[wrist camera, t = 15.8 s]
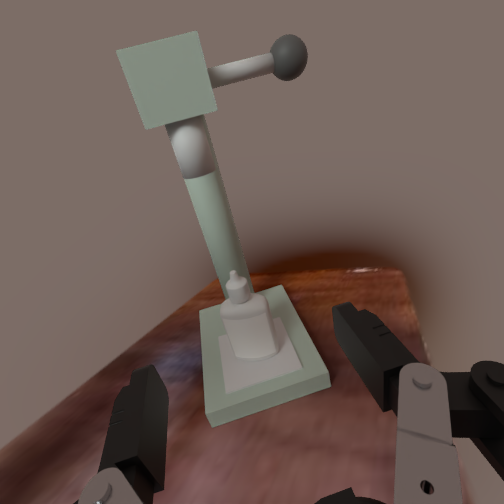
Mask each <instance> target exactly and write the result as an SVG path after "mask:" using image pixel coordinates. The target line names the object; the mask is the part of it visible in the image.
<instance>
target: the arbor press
mask: <svg viewBox="0 0 504 504" xmlns="http://www.w3.org/2000/svg"><path fill="white" fill-rule="evenodd" d="M116 53H117V56H118V58H119V61H120V63H121V66H122V68H123V71H124V74H125V77H126V79H127V82H128V85H129V87H130V90H131V92H132V95H133V98H134V100H135V103H136V105H137V108H138V111H139V113H140V116H141V119H142V121H143V124H144V126H145V129H150V128H154V127H157V126H161V125H165V127H166V130H167V133H168V136H169V138H170V141H171V144H172V147H173V150H174V153H175V156H176V158H177V161H178V164H179V167H180V170H181V173H182V176H183V178H184V180H185V183H186V186H187V189H188V192H189V194H190V197H191V200H192V203H193V206H194V209H195V212H196V215H197V217H198V221H199V223H200V226H201V229H202V232H203V234H204V238H205V241H206V244H207V247H208V249H209V252H210V255H211V258H212V261H213V264H214V267H215V269H216V273H217V275H218V278H219V281H220V284H221V287H222V290H223V293H224V296H225V298H226V300H227V299H228V298H229V296H228V293H227V290H226V287H225V286H226V283H227V282H228V281H229V280H230V272H231V271H233V270H235V271H236V272H237V274H238V276H240V277H244V278H246V279H247V282H248V285H249V289H250V292H251V293H254V290H253V286H252V283H251V279H250V276H249V272H248V269H247V265H246V262H245V258H244V255H243V251H242V248H241V244H240V240H239V237H238V233H237V230H236V226H235V223H234V219H233V216H232V212H231V209H230V205H229V202H228V198H227V195H226V191H225V187H224V184H223V180H222V177H221V174H220V170H219V166H218V163H217V159H216V156H215V152H214V149H213V145H212V142H211V138H210V135H209V131H208V128H207V124H206V120H205V117H204V114H206V113H210V112H213V111H217V110H218V109H217V105H216V102H215V98H214V94H213V90H212V89H213V88H217V87H220V86H224V85H228V84H231V83H235V82H239V81H243V80H247V79H251V78H255V77H258V76H262V75H266V74H270V73H273V74H274V75H275V76H276V77H277V78H279V79H281V80H284V81H290V80H293V79H295V78H297V77H298V76H299V75H301V73H302V72H303V71H304V69H305V67H306V64H307V58H308V56H307V55H308V54H307V49H306V46H305V44H304V43H303V41H302V40H301V39H300V38H298V37H297V36H295V35H284V36H282V37H280V38H279V39H277V40H276V41H275V43H274V44H273V46H272V47H271V50H270V53H267V54H263V55H259V56H255V57H252V58H247V59H244V60H240V61H236V62H232V63H228V64H224V65H220V66H216V67H212V68H208V69H207V67H206V63H205V59H204V56H203V52H202V48H201V44H200V40H199V37H198V32H197V31H194V32H190V33H185V34H182V35H177V36H173V37H169V38H165V39H161V40H157V41H153V42H149V43H145V44H141V45H137V46H133V47H129V48H125V49H121V50H117V51H116ZM255 294H259V295H262V296H264V297H266V298H267V300H268V303H269V307H270V310H271V314H272V318H273V322H274V325H275V329H276V333H277V337H278V341H279V351H278V353H277V354H276V355H275V356H273V357H270V358H268V359H264V360H260V361H243V360H239V359H237V358H236V357H235V355H234V353H233V350H232V347H231V345H230V342H229V339H228V336H227V334H226V331H225V328H224V326H223V323H222V320H221V316H220V308H221V305H222V304H219V305H216V306H213V307H210V308H206V309H203V310H200V311H199V314H200V331H201V347H202V364H203V380H204V397H205V414H206V416H207V418H208V420H209V422H210V424H211V426H212V428H213V427H216V426H219V425H222V424H225V423H228V422H230V421H233V420H236V419H239V418H242V417H245V416H248V415H251V414H254V413H256V412H259V411H262V410H265V409H268V408H271V407H274V406H277V405H280V404H282V403H285V402H288V401H291V400H294V399H297V398H300V397H303V396H305V395H308V394H311V393H314V392H317V391H320V390H323V389H326V388H329V387H331V383H330V377H329V372H328V370H327V368H326V366H325V364H324V362H323V361H322V359H321V357H320V355H319V353H318V351H317V349H316V347H315V346H314V344H313V342H312V340H311V338H310V336H309V334H308V333H307V331H306V329H305V327H304V325H303V323H302V321H301V320H300V318H299V316H298V314H297V312H296V310H295V308H294V307H293V305H292V303H291V301H290V299H289V297H288V295H287V294H286V292H285V290H284V288H283V286H282V285H279V286H276V287H273V288H270V289H266V290H263V291H260V292H257V293H255Z"/></svg>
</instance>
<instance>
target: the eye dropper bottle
mask: <svg viewBox="0 0 504 504" xmlns="http://www.w3.org/2000/svg"><path fill="white" fill-rule="evenodd" d="M225 287H226V290H227V293H228V296H229V298H228V299H227V300H225V301H224V302H223V303H222V305H221V308H220V316H221V320H222V323H223V326H224V328H225V331H226V334H227V336H228V339H229V342H230V345H231V347H232V350H233V353H234V355H235V357H236V358H237V359H239V360H243V361H260V360H264V359H268V358H270V357H273V356H275V355H276V354H277V353H278V351H279V341H278V337H277V333H276V329H275V325H274V322H273V318H272V314H271V310H270V307H269V303H268V300H267V298H266V297H264V296H262V295H259V294H255V293H251V292H250V289H249V285H248V282H247V279H246V278H244V277H240V276H238V274H237V272H236V271H235V270H233V271H231V272H230V280H229V281H228V282H227V283H226V286H225Z"/></svg>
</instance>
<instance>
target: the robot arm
mask: <svg viewBox="0 0 504 504" xmlns="http://www.w3.org/2000/svg"><path fill="white" fill-rule="evenodd" d="M332 313H333V322H334V331H335V336H336V338H337V341H338V343H339V345H340V346H341V348H342V350H343V351H344V353H345V354H346V356H347V357H348V359H349V360H350V362H351V363H352V365H353V367H354V368H355V370H356V371H357V373H358V374H359V376H360V377H361V379H362V380H363V382H364V383H365V385H366V387H367V388H368V390H369V391H370V393H371V394H372V396H373V397H374V399H375V400H376V402H377V403H378V405H379V407H380V408H381V410H382V411H383V412H386V411H389V410H393V412H394V413H395V415H396V416H397V440H396V462H395V485H394V504H463V502H462V492H461V483H460V474H459V464H458V456H457V450H456V447H455V445H453V441H452V437H457V438H470V439H471V440H472V441H473V443H474V444H475V445H476V446H477V448H478V449H479V450H480V452H481V453H482V454H483V455H484V457H485V458H486V459H487V460H488V462H489V463H490V464H491V466H492V467H493V468H494V469H495V471H496V472H497V473H498V474H499V475H500V477H501V478H502V479H503V481H504V364H501V363H498V362H493V361H480V362H477V363H476V364H474V365H473V367H472V368H471V372H450V373H447V372H439V371H438V370H436V369H435V368H433V367H431V366H429V365H426V364H423V363H420V362H419V361H418V360H417V359H416V358H415V357H414V356H413V355H412V354H411V353H410V352H409V351H408V349H407V348H406V347H405V346H404V345H403V344H402V343H401V342H400V341H399V340H398V339H397V337H396V336H395V335H394V334H393V333H391V331H390V330H389V329H388V328H387V327H386V326H385V325H384V323H383V322H382V321H381V320H380V319H379V318H378V317H377V316H376V315H375V314H373V313H371V312H369V311H367V310H365V309H364V310H361V311H358V310H357V309H356V308H355V307H354V306H353V305H352V303H350V302H346V303H343V304H339V305H336V306H333V307H332ZM168 405H169V399H168V392H167V389H166V386H165V385H164V383H163V381H162V379H161V378H160V376H159V374H158V372H157V371H156V369H155V367H154V366H153V365H152V364H151V365H148V366H145V367H142V368H138V369H135V370H133V372H132V375H131V380H130V385H128V386H125V387H123V388H122V389H121V391H120V393H119V394H118V396H117V398H116V399H115V402H114V406H113V411H112V416H111V419H110V423H109V425H110V427H109V428H108V432H107V436H106V440H105V445H104V449H103V453H102V457H101V462H100V466H99V470H98V473H97V474H96V475H95V476H94V477H93V478H92V479H91V480H90V481H89V482H88V484H87V485H86V486H85V488H84V490H83V491H82V493H81V496H80V498H79V500H77V501H76V502H75V503H74V504H153V494H154V493H156V492H159V491H162V490H164V481H165V462H166V443H167V424H168ZM315 504H386V503H383V502H381V501H379V500H375V499H371V498H366V497H355V495H354V493H353V490H352V488H351V487H350V488H348V489H345V490H342V491H340V492H337V493H335V494H332V495H329V496H327V497H324V498H321V499H320V500H319V501H317V502H316V503H315Z"/></svg>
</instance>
